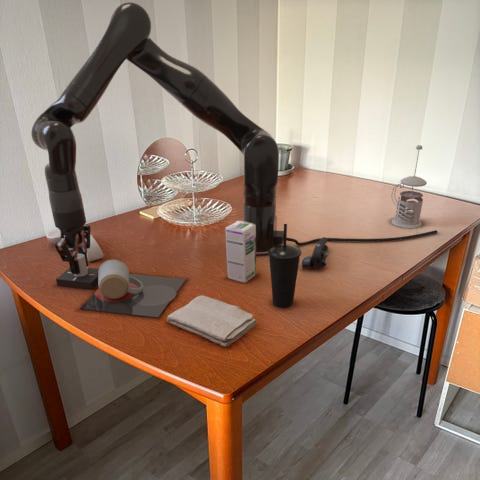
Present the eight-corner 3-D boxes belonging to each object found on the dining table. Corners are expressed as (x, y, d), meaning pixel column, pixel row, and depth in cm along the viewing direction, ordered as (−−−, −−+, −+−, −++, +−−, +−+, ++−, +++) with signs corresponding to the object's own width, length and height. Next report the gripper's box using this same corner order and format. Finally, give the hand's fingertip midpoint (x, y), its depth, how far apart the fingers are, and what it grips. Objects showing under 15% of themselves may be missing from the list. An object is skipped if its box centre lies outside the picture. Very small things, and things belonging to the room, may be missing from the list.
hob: (187, 280, 130) (187, 279, 130) (160, 318, 114) (160, 317, 113) (114, 273, 134) (114, 272, 134) (77, 309, 118) (77, 308, 118)
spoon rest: (42, 243, 153) (36, 221, 149) (76, 233, 160) (72, 212, 156) (79, 266, 138) (74, 242, 134) (115, 254, 145) (111, 231, 141)
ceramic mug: (100, 302, 120) (95, 274, 116) (100, 287, 126) (96, 260, 122) (144, 298, 122) (141, 270, 118) (142, 283, 128) (139, 256, 124)
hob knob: (90, 271, 131) (86, 253, 128) (83, 277, 128) (80, 258, 125) (78, 270, 132) (74, 251, 129) (71, 276, 129) (67, 257, 126)
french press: (411, 230, 158) (425, 150, 145) (380, 221, 166) (391, 144, 153) (427, 223, 164) (442, 145, 151) (397, 214, 171) (409, 139, 158)
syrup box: (245, 283, 128) (245, 230, 121) (226, 278, 131) (225, 226, 123) (256, 275, 132) (256, 223, 125) (238, 270, 135) (237, 219, 127)
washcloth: (228, 350, 102) (227, 337, 101) (164, 324, 111) (163, 312, 110) (259, 325, 111) (260, 313, 109) (198, 303, 120) (197, 291, 118)
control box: (106, 275, 133) (105, 268, 132) (92, 289, 126) (90, 281, 125) (73, 272, 135) (71, 265, 134) (57, 285, 128) (55, 278, 127)
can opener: (324, 274, 132) (325, 255, 129) (298, 270, 134) (299, 251, 131) (336, 249, 146) (338, 231, 143) (313, 246, 148) (315, 228, 145)
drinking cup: (265, 296, 122) (266, 219, 111) (295, 294, 122) (299, 217, 112) (269, 312, 115) (270, 231, 105) (301, 310, 116) (306, 229, 105)
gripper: (65, 217, 114) (79, 283, 123) (95, 198, 125) (105, 260, 134) (37, 215, 115) (52, 280, 124) (68, 196, 127) (80, 257, 136)
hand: (80, 269), depth 129 cm, fingers closed on hob knob, 3 cm apart
